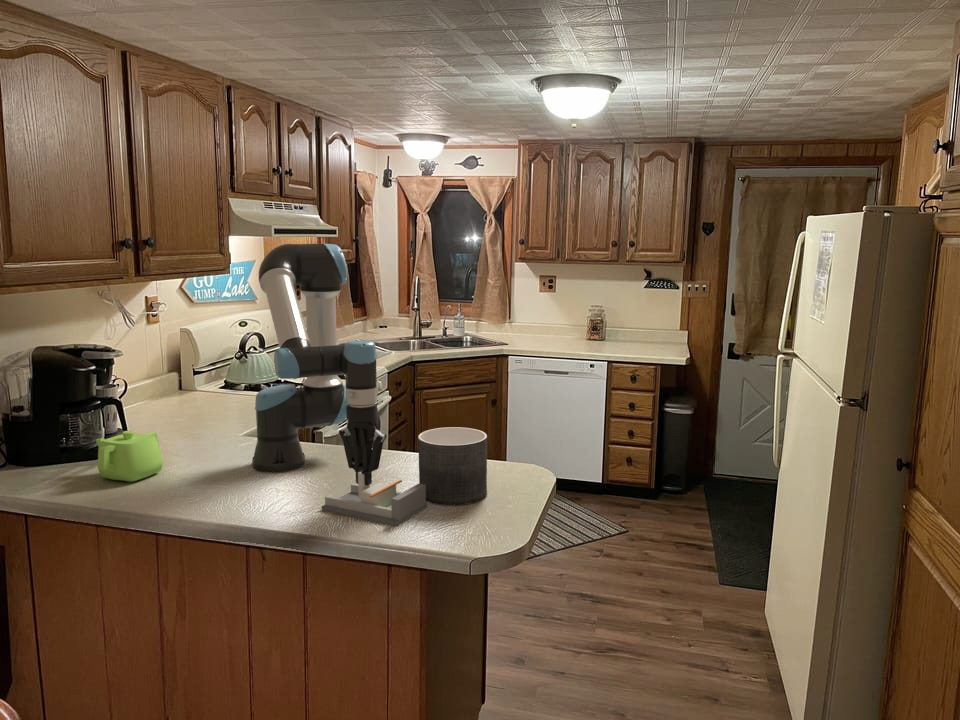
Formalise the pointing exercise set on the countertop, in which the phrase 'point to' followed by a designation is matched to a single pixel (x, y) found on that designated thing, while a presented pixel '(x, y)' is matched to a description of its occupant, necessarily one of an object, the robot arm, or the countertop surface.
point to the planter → (453, 465)
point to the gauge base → (392, 514)
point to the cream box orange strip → (379, 494)
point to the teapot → (129, 456)
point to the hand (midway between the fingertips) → (364, 496)
